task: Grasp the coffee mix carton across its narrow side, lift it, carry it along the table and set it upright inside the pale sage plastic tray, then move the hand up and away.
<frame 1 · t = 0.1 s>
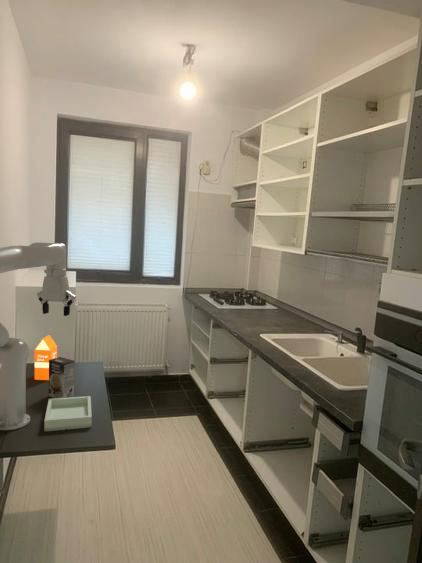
hand: (56, 314, 168), 37 cm above the table, tool pointing down, fingers open, 9 cm apart
coffee box: (61, 396, 176), on the table
orange juice: (45, 377, 198), on the table
tray: (69, 417, 156), on the table
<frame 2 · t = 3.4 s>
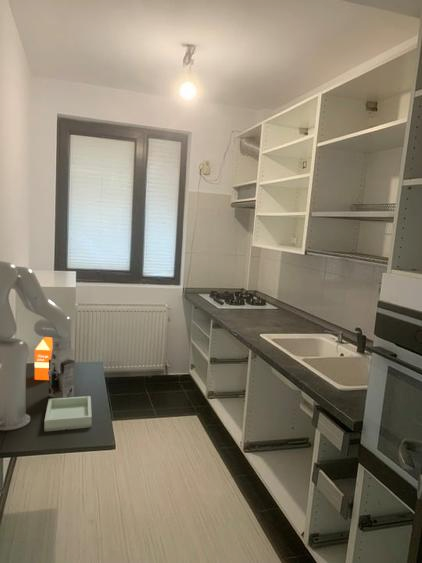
hand: (61, 384, 175), 5 cm above the table, tool pointing down, fingers closed on coffee box, 7 cm apart
coffee box: (61, 396, 176), on the table, touching gripper
everything else where it was.
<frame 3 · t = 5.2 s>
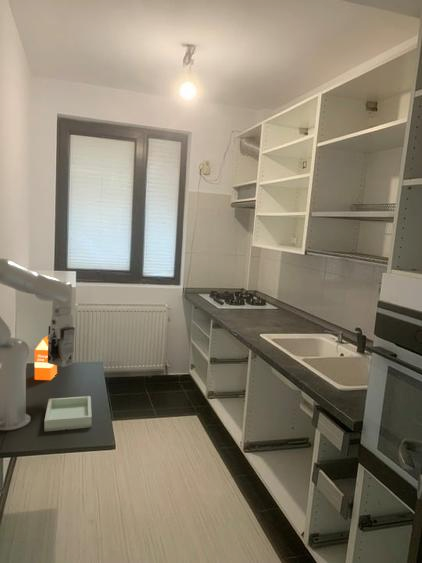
hand: (60, 352, 173), 20 cm above the table, tool pointing down, fingers closed on coffee box, 7 cm apart
coffee box: (60, 364, 173), point 14 cm above the table, touching gripper
everything else where it was.
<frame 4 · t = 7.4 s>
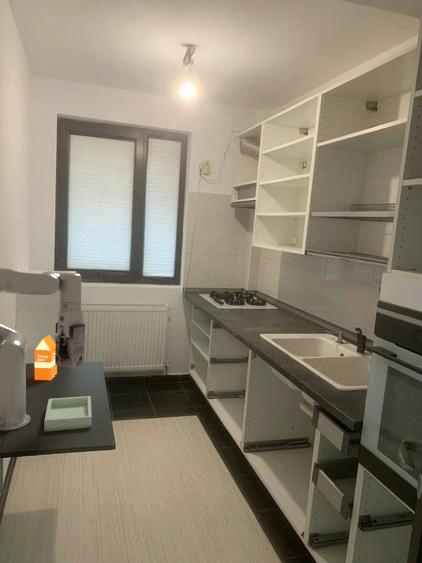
hand: (69, 352, 153), 26 cm above the table, tool pointing down, fingers closed on coffee box, 7 cm apart
coffee box: (69, 365, 154), point 20 cm above the table, touching gripper
everything else where it was.
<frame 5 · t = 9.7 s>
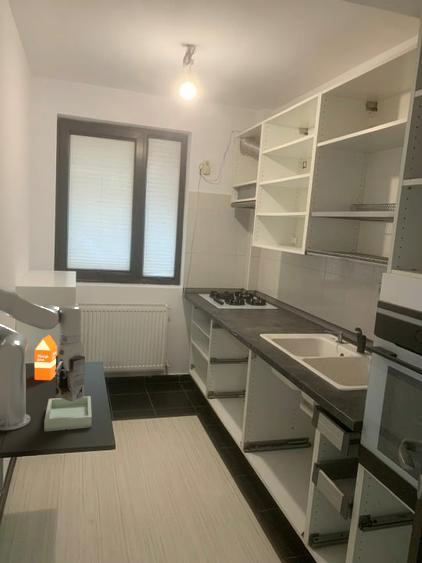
hand: (69, 384, 154), 13 cm above the table, tool pointing down, fingers closed on coffee box, 7 cm apart
coffee box: (70, 397, 155), point 8 cm above the table, touching gripper
everything else where it was.
when the fingers open (8 cm above the table, at t = 11.4 s): coffee box drops 2 cm, resting on tray.
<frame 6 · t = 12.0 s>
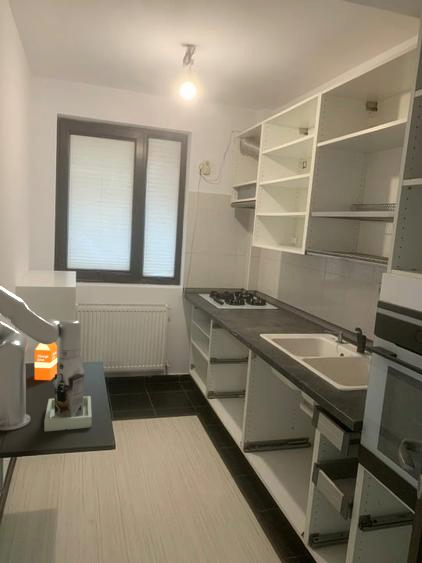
hand: (69, 396, 155), 8 cm above the table, tool pointing down, fingers open, 9 cm apart
coffee box: (68, 415, 156), point 1 cm above the table, touching tray
everything else where it was.
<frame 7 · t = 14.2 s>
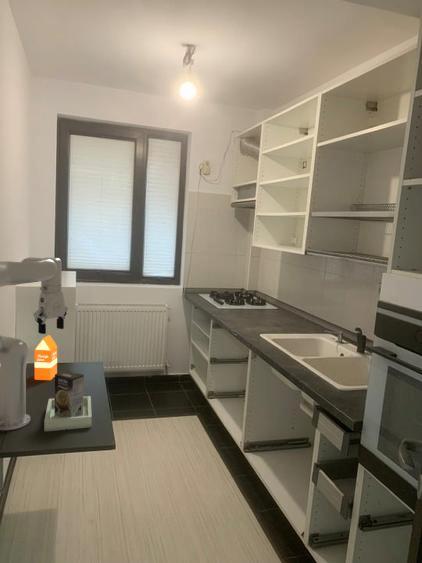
hand: (51, 331, 163), 31 cm above the table, tool pointing down, fingers open, 9 cm apart
nothing on the table moved.
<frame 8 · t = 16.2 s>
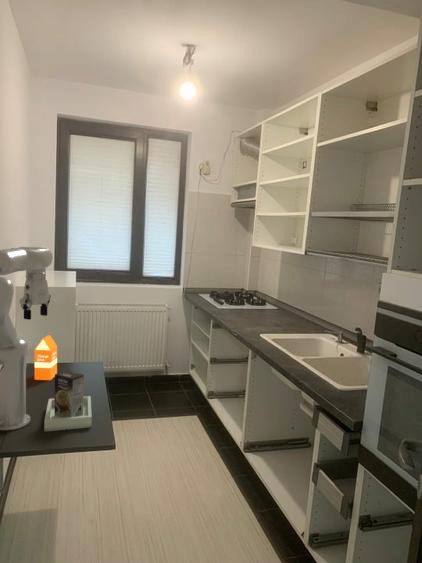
hand: (35, 317, 171), 34 cm above the table, tool pointing down, fingers open, 9 cm apart
nothing on the table moved.
at the end: coffee box inside the target area on the tray (0.1 cm from its centre), point 0.8 cm above the tray's base; coffee box tilted 0°; the gripper is holding nothing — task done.
